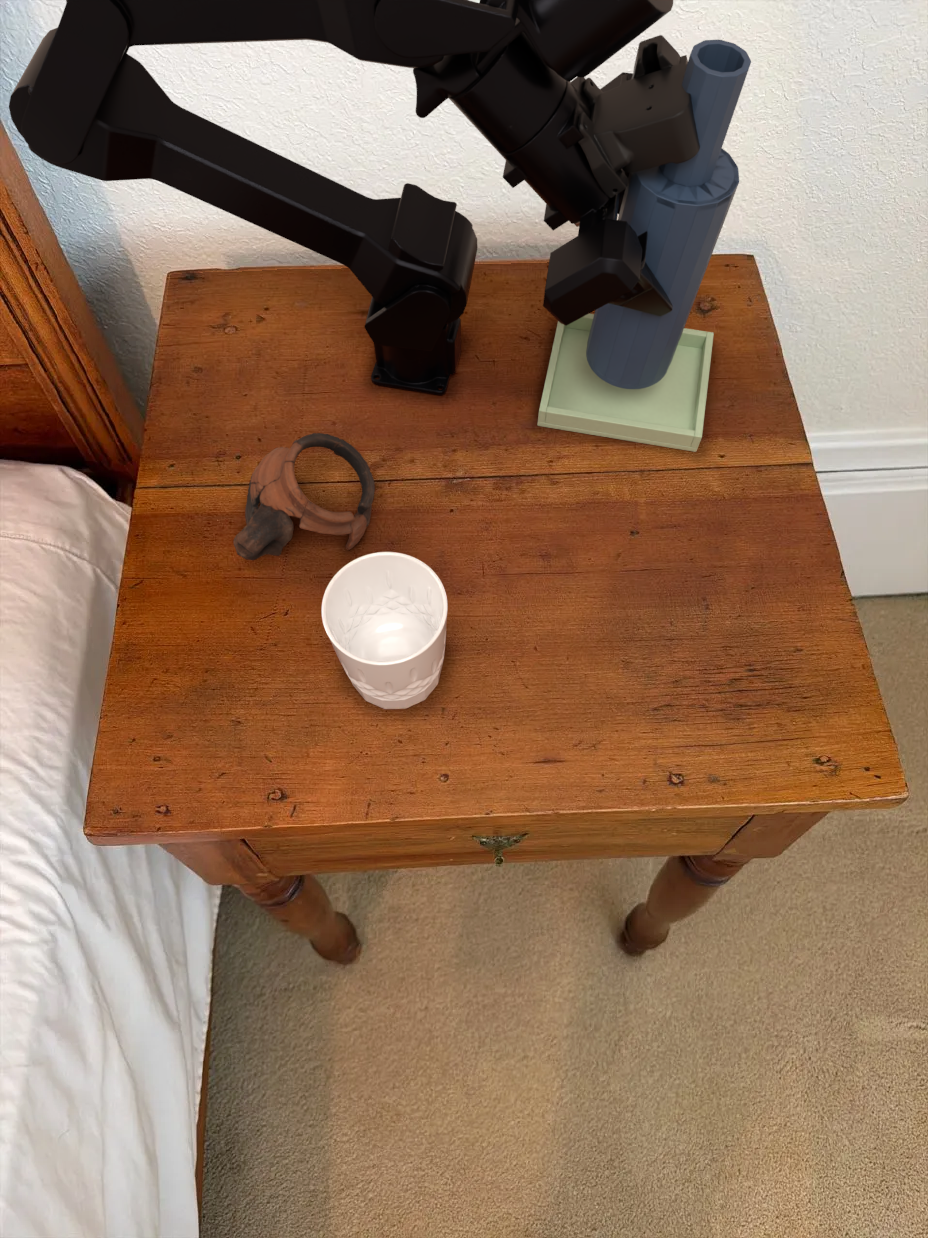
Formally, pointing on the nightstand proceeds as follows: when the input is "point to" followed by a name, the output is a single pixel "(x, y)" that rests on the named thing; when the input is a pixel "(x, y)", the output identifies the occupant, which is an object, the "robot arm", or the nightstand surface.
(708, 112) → the carafe
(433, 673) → the white cup
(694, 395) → the tray
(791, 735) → the nightstand surface
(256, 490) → the brown grey sculpted ring
